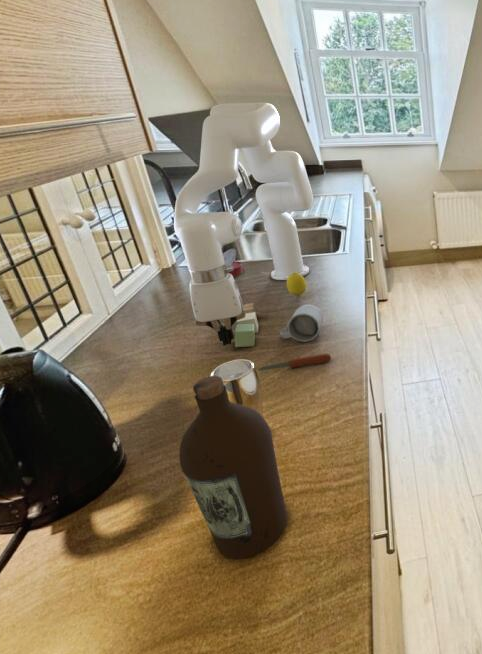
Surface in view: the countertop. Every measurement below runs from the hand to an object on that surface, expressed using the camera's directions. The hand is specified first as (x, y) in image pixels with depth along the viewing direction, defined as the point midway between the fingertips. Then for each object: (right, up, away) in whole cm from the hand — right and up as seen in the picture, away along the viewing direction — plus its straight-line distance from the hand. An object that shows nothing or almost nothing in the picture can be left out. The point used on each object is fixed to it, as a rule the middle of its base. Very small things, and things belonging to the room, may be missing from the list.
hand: (227, 342), depth 112 cm
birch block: (-1, +4, +13) cm, 14 cm away
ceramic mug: (+17, +1, +5) cm, 18 cm away
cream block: (+2, +2, +8) cm, 8 cm away
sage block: (+4, 0, +1) cm, 4 cm away
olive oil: (+28, -21, -48) cm, 59 cm away
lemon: (+7, +11, +28) cm, 31 cm away
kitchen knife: (+20, -5, -9) cm, 23 cm away
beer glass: (+20, -14, -31) cm, 40 cm away
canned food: (-25, +18, +48) cm, 57 cm away
